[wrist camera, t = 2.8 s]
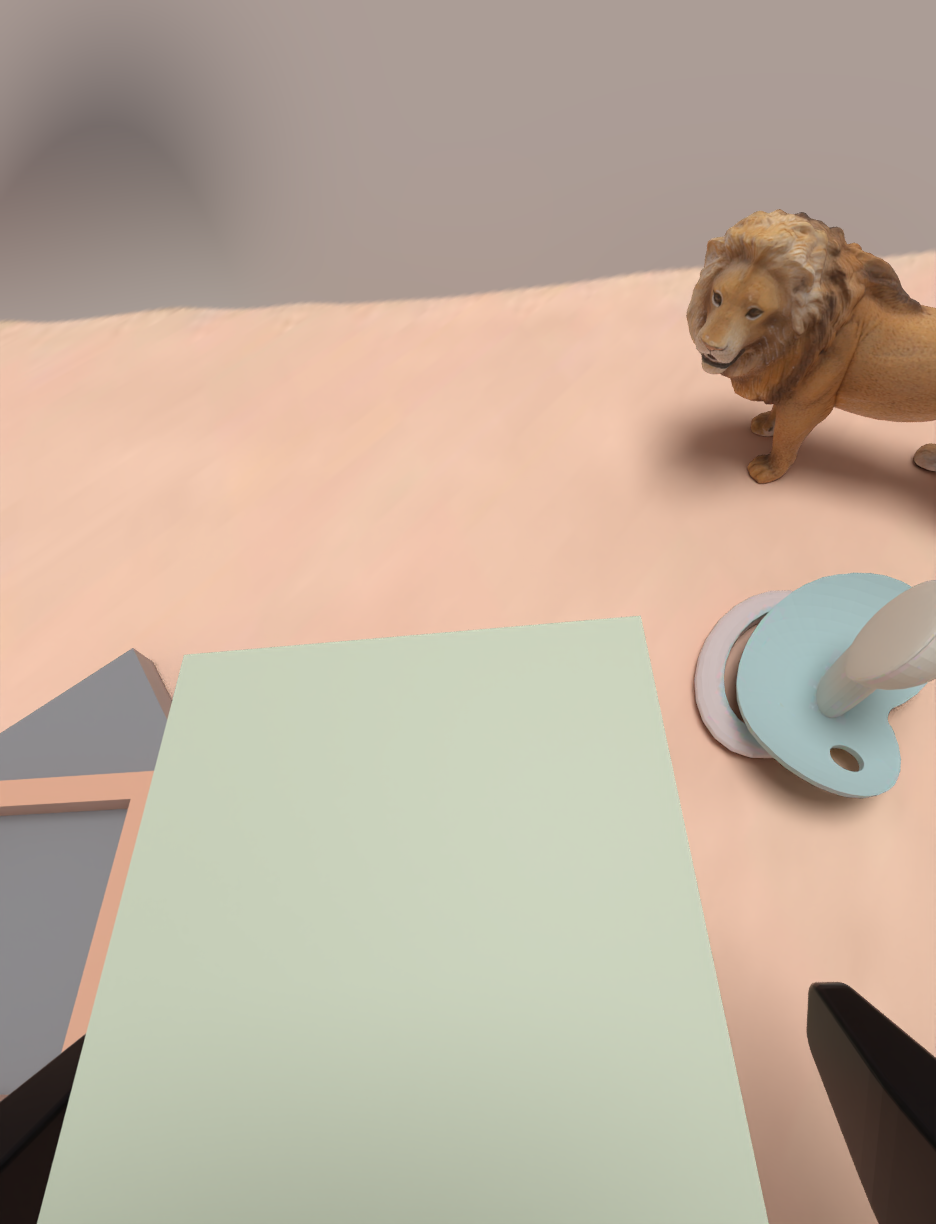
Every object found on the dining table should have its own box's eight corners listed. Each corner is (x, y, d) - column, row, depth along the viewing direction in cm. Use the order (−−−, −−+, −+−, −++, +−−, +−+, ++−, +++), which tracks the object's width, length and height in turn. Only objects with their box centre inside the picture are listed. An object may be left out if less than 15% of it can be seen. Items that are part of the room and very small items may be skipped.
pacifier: (656, 732, 18) (856, 840, 16) (689, 641, 13) (997, 781, 11) (743, 571, 21) (927, 642, 18) (801, 442, 16) (1069, 517, 13)
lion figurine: (645, 487, 23) (690, 262, 16) (672, 401, 26) (723, 169, 18) (1086, 569, 19) (1449, 315, 11) (1071, 457, 21) (1363, 183, 14)
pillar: (608, 1037, 14) (798, 1365, 3) (416, 1039, 15) (8, 1332, 4) (583, 830, 17) (640, 615, 6) (420, 838, 17) (184, 654, 6)
